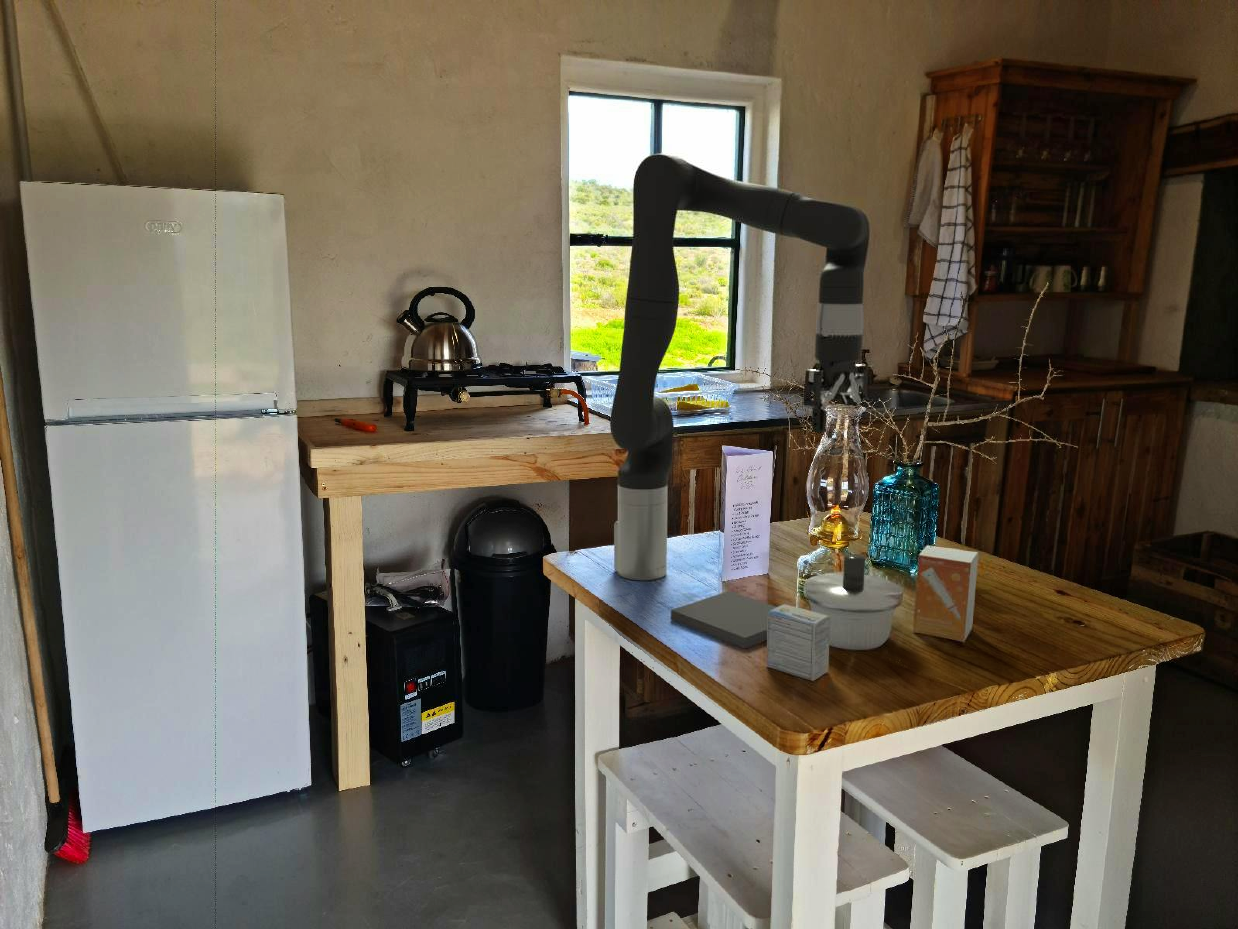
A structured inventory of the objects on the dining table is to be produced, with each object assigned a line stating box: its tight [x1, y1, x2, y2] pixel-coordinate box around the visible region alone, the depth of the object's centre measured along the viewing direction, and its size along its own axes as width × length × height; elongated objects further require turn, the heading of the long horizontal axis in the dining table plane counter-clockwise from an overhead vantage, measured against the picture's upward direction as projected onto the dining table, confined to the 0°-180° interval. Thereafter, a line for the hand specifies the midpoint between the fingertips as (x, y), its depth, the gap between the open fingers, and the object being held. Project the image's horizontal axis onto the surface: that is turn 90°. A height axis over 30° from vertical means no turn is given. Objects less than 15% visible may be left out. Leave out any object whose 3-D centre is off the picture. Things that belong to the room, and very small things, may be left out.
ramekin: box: [808, 600, 897, 651], centre depth 152 cm, size 13×13×7 cm
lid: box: [803, 553, 904, 613], centre depth 151 cm, size 15×15×6 cm
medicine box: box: [765, 603, 830, 682], centre depth 140 cm, size 8×4×9 cm, turn 48°
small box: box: [912, 545, 979, 643], centre depth 154 cm, size 8×6×13 cm
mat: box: [670, 590, 777, 649], centre depth 158 cm, size 16×14×2 cm
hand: (834, 429), depth 163 cm, fingers open, 8 cm apart
